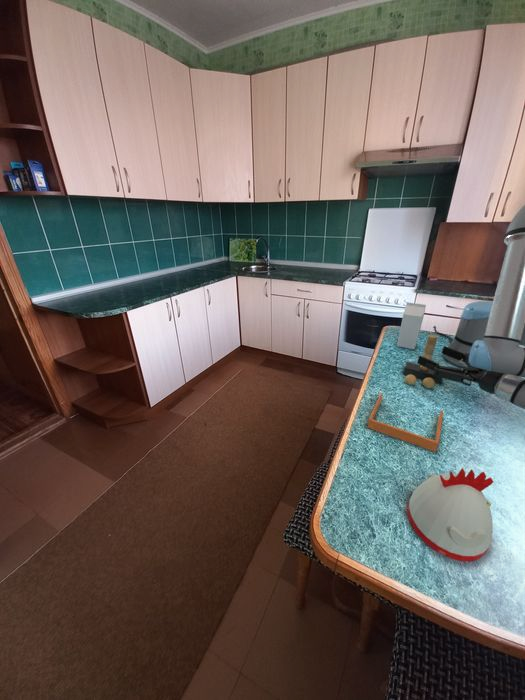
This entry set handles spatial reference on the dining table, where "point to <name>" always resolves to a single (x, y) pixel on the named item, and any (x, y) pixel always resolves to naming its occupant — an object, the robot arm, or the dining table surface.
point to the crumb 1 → (410, 379)
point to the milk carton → (411, 325)
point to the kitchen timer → (453, 514)
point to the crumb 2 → (428, 382)
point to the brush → (418, 369)
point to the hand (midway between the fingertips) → (431, 354)
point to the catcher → (404, 434)
